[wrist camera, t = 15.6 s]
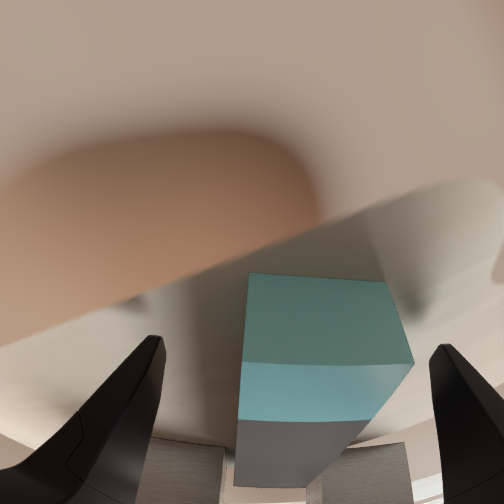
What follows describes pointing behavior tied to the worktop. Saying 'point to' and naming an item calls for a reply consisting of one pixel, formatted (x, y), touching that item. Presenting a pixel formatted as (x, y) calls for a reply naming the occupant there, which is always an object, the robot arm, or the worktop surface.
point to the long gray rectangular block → (317, 492)
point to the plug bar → (312, 373)
